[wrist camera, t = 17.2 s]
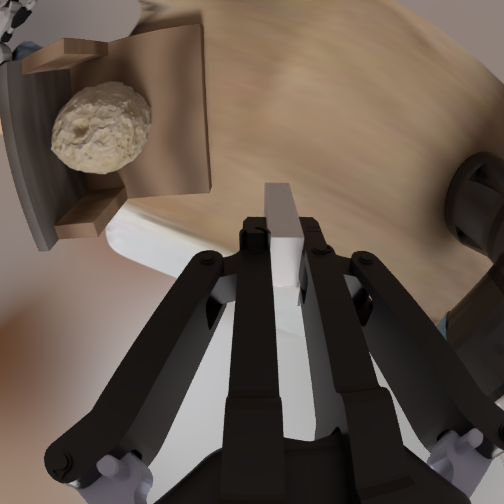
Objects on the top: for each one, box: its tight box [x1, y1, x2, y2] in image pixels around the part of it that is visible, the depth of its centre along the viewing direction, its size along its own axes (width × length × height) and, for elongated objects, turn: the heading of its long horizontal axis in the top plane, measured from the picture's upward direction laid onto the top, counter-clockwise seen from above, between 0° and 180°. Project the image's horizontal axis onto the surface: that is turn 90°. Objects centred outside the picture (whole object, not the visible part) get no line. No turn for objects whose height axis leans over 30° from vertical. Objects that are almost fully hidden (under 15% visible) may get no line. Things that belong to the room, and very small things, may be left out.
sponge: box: [51, 81, 152, 174], centre depth 21 cm, size 9×10×10 cm
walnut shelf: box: [0, 24, 212, 251], centre depth 20 cm, size 16×18×12 cm
